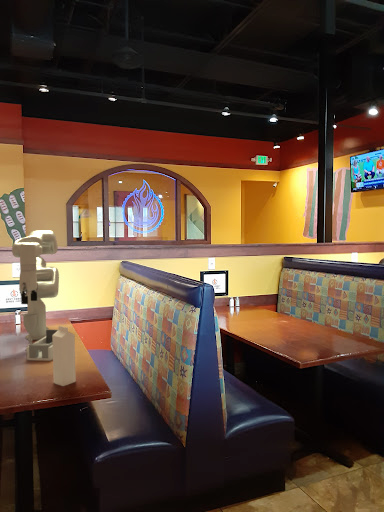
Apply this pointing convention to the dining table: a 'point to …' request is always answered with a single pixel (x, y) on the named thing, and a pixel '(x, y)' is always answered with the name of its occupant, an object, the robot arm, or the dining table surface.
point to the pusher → (49, 336)
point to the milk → (63, 357)
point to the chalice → (29, 324)
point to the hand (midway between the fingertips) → (29, 302)
